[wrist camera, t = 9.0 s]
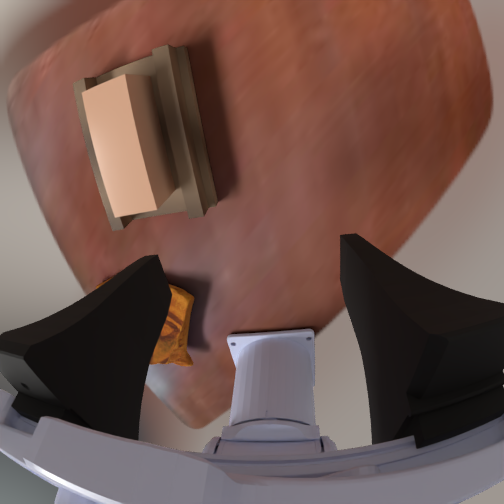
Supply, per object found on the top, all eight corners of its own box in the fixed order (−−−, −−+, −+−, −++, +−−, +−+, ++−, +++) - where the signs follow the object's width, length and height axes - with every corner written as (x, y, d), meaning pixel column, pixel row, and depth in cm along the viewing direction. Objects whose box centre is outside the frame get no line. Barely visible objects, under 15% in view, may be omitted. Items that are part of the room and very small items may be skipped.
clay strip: (175, 189, 19) (157, 209, 16) (137, 197, 19) (114, 217, 16) (150, 76, 15) (124, 73, 12) (111, 90, 15) (81, 92, 12)
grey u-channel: (218, 202, 20) (211, 215, 18) (121, 218, 21) (107, 231, 19) (187, 47, 14) (175, 42, 12) (85, 84, 16) (67, 86, 14)
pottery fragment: (117, 364, 27) (72, 305, 20) (127, 330, 30) (92, 267, 24) (207, 374, 26) (183, 312, 20) (212, 336, 30) (194, 267, 23)
